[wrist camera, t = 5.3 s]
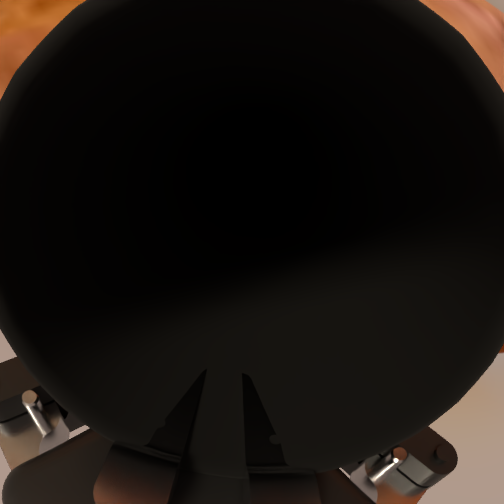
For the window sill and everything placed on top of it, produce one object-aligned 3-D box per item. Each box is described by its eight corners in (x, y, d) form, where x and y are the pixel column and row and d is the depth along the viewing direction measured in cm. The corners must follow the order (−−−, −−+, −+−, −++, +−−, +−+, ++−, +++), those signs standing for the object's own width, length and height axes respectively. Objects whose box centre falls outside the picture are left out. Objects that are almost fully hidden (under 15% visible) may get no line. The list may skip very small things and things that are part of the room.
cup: (355, 104, 12) (587, 122, 2) (317, 250, 16) (387, 478, 5) (191, 71, 12) (-15, -11, 1) (170, 223, 15) (39, 423, 5)
